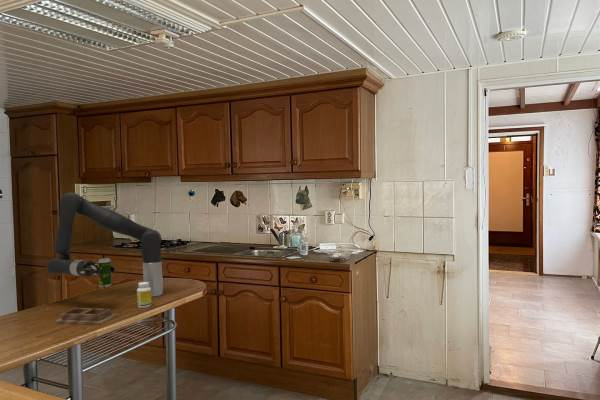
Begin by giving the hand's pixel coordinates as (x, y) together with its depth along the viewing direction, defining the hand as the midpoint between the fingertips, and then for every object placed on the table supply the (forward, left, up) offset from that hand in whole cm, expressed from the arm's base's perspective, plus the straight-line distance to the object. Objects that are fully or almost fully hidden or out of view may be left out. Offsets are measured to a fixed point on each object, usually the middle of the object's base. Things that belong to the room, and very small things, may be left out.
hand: (108, 270), depth 201 cm
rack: (+13, -2, -18) cm, 23 cm away
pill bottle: (-8, +13, -19) cm, 24 cm away
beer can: (-1, -2, -7) cm, 8 cm away
